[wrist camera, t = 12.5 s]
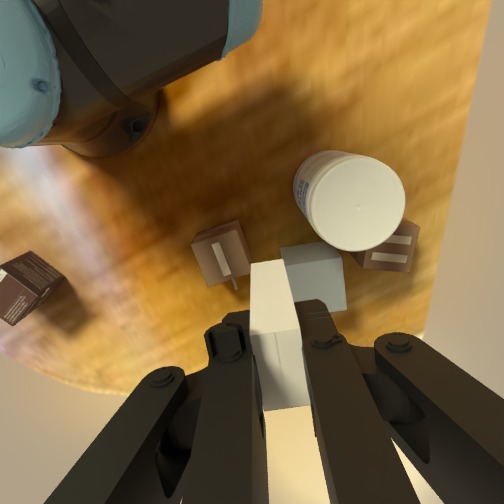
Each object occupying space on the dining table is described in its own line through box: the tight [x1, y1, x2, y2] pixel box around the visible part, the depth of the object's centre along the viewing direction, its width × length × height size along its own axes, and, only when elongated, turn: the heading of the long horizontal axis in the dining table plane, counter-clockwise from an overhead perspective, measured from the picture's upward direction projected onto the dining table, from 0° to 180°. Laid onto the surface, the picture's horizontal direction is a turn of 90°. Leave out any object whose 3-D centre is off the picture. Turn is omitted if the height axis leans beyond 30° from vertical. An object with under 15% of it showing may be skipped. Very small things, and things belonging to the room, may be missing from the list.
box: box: [0, 251, 64, 326], centre depth 51 cm, size 6×6×7 cm
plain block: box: [280, 241, 347, 313], centre depth 50 cm, size 7×7×8 cm
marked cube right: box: [351, 217, 420, 273], centre depth 49 cm, size 6×6×6 cm
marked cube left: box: [191, 220, 252, 290], centre depth 50 cm, size 6×8×6 cm
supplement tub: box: [293, 150, 405, 251], centre depth 43 cm, size 10×10×15 cm
